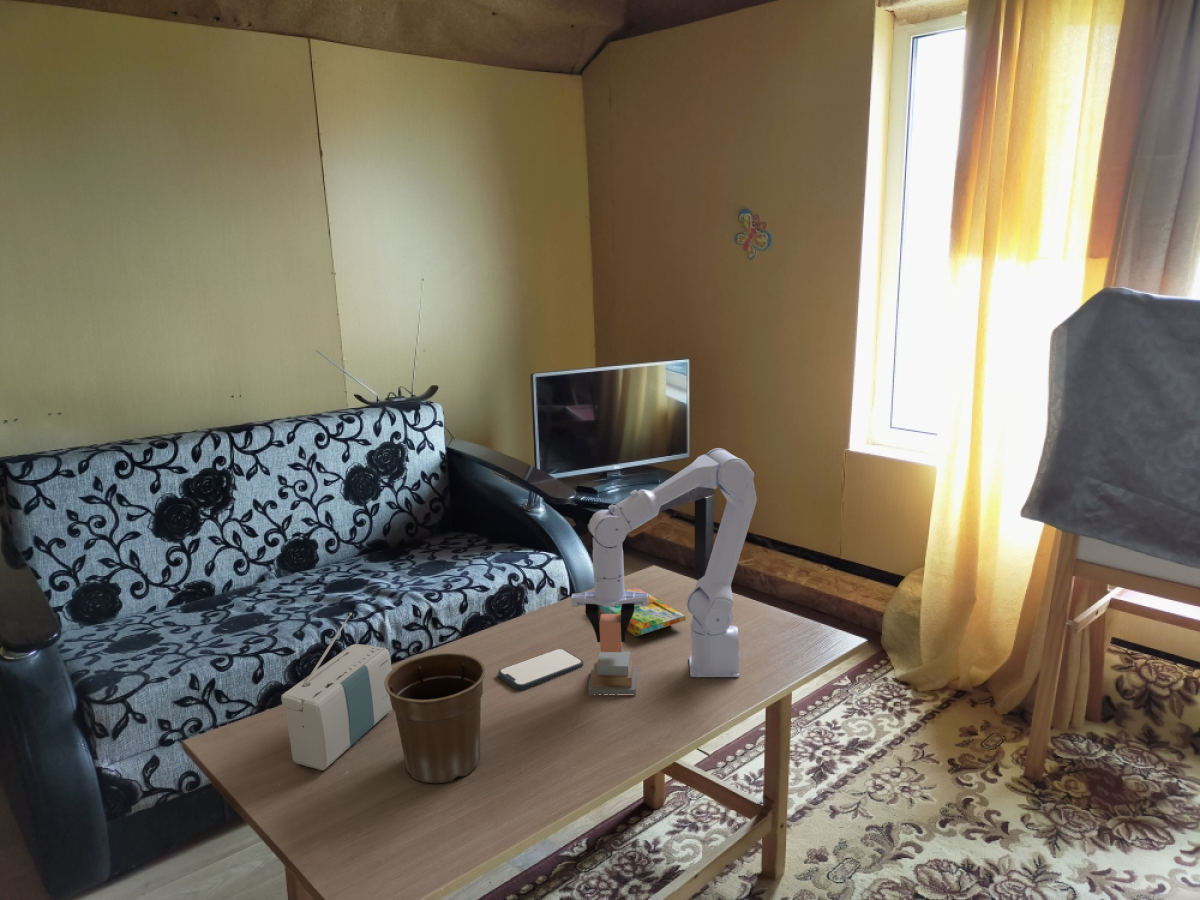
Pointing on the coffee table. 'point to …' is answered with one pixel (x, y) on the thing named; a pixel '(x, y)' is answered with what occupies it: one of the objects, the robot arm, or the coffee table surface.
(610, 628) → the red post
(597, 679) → the tower middle slab
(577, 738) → the coffee table surface
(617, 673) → the tower top slab
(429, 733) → the plant pot
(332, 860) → the coffee table surface
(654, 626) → the puzzle game
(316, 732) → the stereo radio cassette player
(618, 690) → the tower base slab
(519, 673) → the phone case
